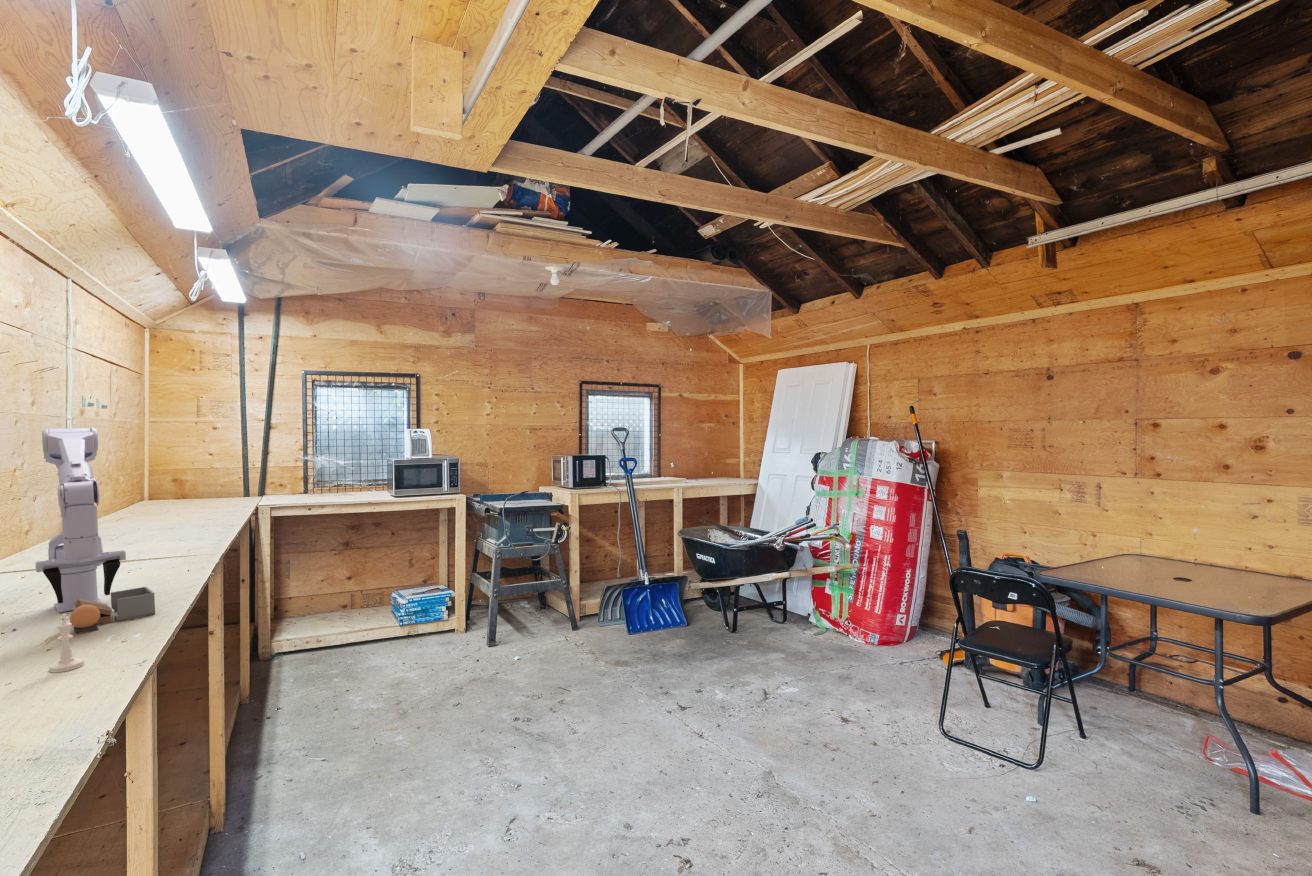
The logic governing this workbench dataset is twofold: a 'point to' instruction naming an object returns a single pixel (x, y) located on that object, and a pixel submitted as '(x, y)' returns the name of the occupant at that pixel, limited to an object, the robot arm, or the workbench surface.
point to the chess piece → (65, 650)
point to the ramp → (104, 609)
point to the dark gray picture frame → (85, 629)
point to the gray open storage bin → (132, 603)
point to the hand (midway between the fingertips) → (84, 598)
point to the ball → (85, 616)
